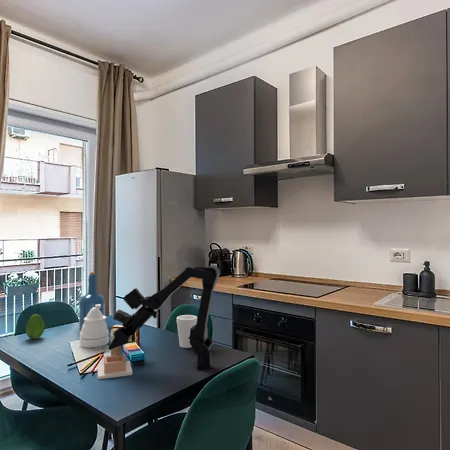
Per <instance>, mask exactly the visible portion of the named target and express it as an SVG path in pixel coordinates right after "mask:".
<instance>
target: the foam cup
mask: <svg viewBox="0 0 450 450" xmlns="http://www.w3.org/2000/svg"><path fill="white" fill-rule="evenodd" d="M197 318H198V315H197V316H196V315H192V314H184V315H183V314H182V315H179V316H177V317H176V324H177V333H178V334H177V335H178V341H179V342H178V343H179V347H180V348H184V349H188V348H189V349H190V348H193V347H192V346H191V345H190V339H188V338H189V336H190V329H191V328H192V327H193V326H194V325H196V323H197Z"/></svg>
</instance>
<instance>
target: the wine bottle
mask: <svg viewBox="0 0 450 450" xmlns="http://www.w3.org/2000/svg"><path fill="white" fill-rule="evenodd" d="M97 280H98V279H97V274H96V272H95V271H90V272H89V275H88V285H87V286H88V287H87V288H88V290H87V294H85V295H83V296H82V297H81V298H80V300H79V314H78V315H79V321H78V323H79V325H78V326H79V329H82V326H83V324H84V318H85V317H87V314H88V313H89V311H90V310H91V309H92V308H93V307H95V305H97V304H101V307H100V309H99V310H100V311H101V313H102V315H103V316H106V300H105V297H104V296H103V294H100V293H99V292H97V291H98V290H97V289H98V288H97Z"/></svg>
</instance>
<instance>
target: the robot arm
mask: <svg viewBox="0 0 450 450" xmlns="http://www.w3.org/2000/svg"><path fill="white" fill-rule="evenodd" d="M220 276H221V270H220V268H219V267H217V266H216V265H209V266H208V267H203V266H194V265H193V266H192V265H189V266H187V267H185V269H184V270H183V271H182V272H180V274H179V275H177V276H176V277H175V278H174V279H173V280H172V281H171V282H170V283H168V284H167V285H166V286H165V287H164V288H162V289H161V290H159V291H157V292H155V293H154V294H152V295H149V296H145V297H144V295H143V294H142V293H141V292H140V290H139V289H138V288H133V289H132V290H131V291H129V293H127V294H125V296H124V297H123V298H122V300H123V301H124V302H125V303H126V305H127V306H129V307H130V309H131V310H136V312H134V313H132V314H130V313H128V312H126V311H124V310H122V309H117V310H116V311H115V313H114V314H113V318H112V319H113V320H114V321H117V322H119V323H122V324H121V326H122V327H121V326H120V327H118V328H116V329H117V330H116V331H115V332H114V340H113V341H112V343H111V342H110V344H109V345H108V347H107V349H108V350H110V351H111V349H114V348H116V347H119V346H121V347H122V346H125V345H126V344H127V343H129V341H130V340H131V337H132V336H134V335H135V334H136V332H138V331H139V329H141V328H142V327H143V326H144V325H145V324H146V323H147V322H148V321H149V320H150V319H151V318H152V317H153V318H154V319H157V318H159V311H158V310H159V309H160V308H161V307H164V305H166V303H167V301H168V300H169V299H170V297H171V296H172V295H173V294H175V292H176V291H177V290H179V289H180V287H181V286H183V285H185V283H186V282H188V281H189V280H190V279H191V278H195V279H198V280H199V279H200V280H201V281H202V282H201V283H202V292H201V293H202V294H201V297H200V302H199V308H198V313H197V323H196V325H194V326H193V327H192V328H191V329H190V336H189V338H188V339H190V345H191V346H192V347H191V348H192V349H193V351H194V354H195V355H196V356H195V358H196V359H195V362H193V365H194V367H195V369H196V370H197V371H203V370H211V369H214V368H215V367H214V365H213V364H212V351H211V349H212V347H213V344H214V343H213V341H212V339H210V338H209V337H208V334H209V331H208V330H209V329H208V320H209V314H210V309H211V305H212V298H213V293H214V289H215V287H216V285H217V283H218V280H219V278H220Z"/></svg>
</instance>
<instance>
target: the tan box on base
mask: <svg viewBox="0 0 450 450" xmlns="http://www.w3.org/2000/svg"><path fill="white" fill-rule="evenodd" d="M127 376H133V368H132V366H131V362H130V360H126V357H125V354H121V355H115V356H111V355H108V356H107V355H106V356H103V363H99V364H97V380H105V379H110V378H118V377H127Z"/></svg>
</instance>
